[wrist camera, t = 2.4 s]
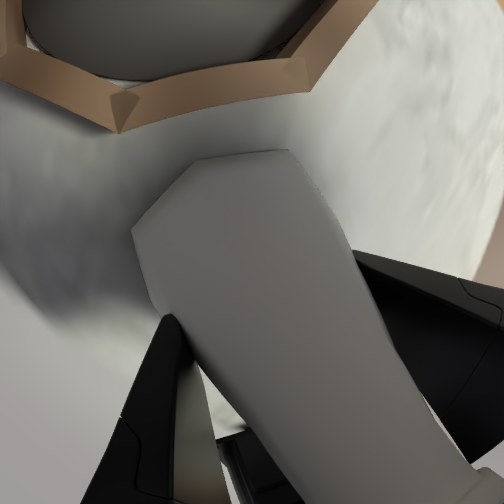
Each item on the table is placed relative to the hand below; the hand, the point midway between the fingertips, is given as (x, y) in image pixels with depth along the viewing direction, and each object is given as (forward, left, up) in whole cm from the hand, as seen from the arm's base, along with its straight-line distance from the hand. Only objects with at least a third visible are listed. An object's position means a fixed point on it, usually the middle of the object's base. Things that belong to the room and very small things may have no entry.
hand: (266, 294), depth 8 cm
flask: (0, 0, -3) cm, 3 cm away
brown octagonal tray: (+11, 0, -3) cm, 11 cm away
